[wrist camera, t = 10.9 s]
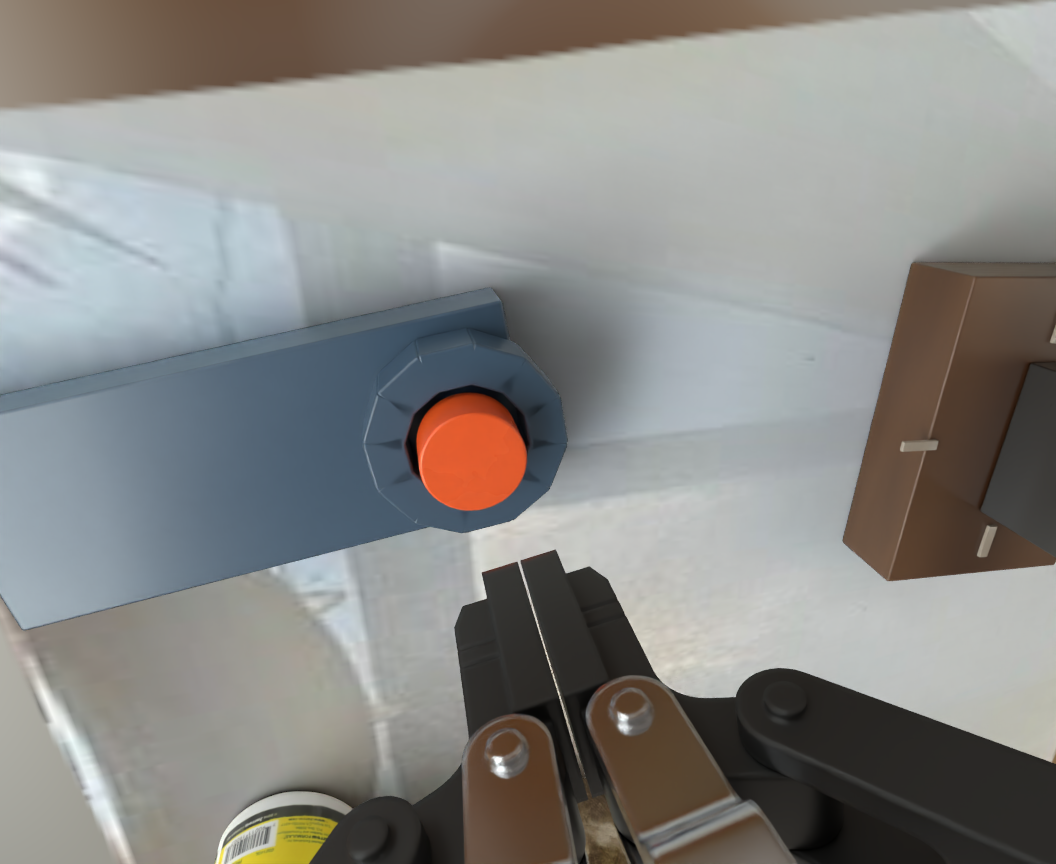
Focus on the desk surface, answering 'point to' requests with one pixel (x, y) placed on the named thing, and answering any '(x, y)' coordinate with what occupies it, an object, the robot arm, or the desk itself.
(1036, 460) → the red-tipped grey bar
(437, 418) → the button
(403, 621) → the desk surface
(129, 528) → the button box
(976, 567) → the panel
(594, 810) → the fossilized seashell
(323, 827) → the pill bottle
